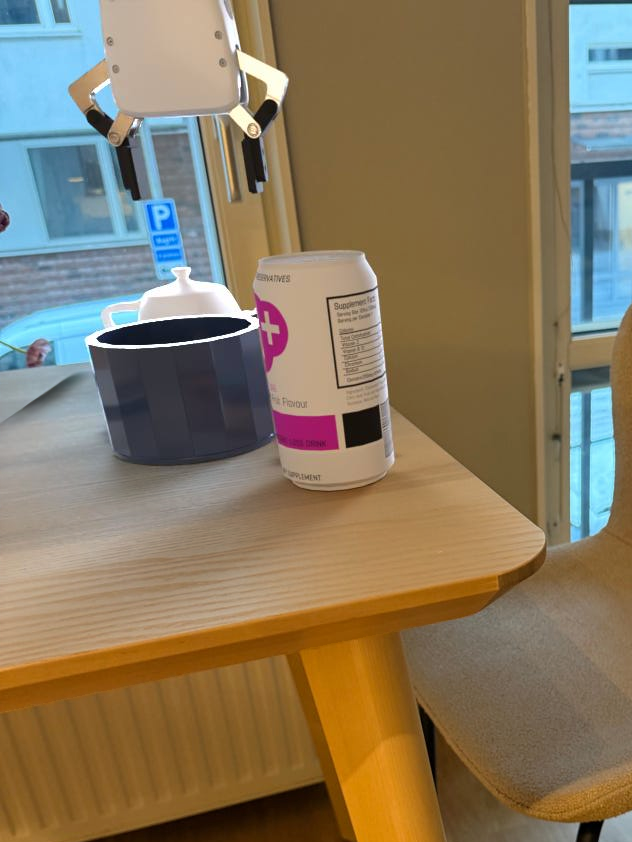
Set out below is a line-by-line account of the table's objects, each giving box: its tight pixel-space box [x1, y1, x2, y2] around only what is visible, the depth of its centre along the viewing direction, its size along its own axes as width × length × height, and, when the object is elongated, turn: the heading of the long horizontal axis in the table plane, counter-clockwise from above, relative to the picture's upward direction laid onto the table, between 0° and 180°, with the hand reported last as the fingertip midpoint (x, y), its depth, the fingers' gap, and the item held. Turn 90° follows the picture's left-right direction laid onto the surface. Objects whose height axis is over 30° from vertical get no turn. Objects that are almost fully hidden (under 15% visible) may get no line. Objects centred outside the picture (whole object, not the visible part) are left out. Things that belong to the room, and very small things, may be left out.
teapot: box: [100, 266, 257, 330], centre depth 106 cm, size 20×12×10 cm, turn 102°
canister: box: [84, 315, 277, 466], centre depth 76 cm, size 14×14×9 cm
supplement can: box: [252, 249, 395, 492], centre depth 65 cm, size 8×8×15 cm
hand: (199, 196), depth 78 cm, fingers open, 9 cm apart
